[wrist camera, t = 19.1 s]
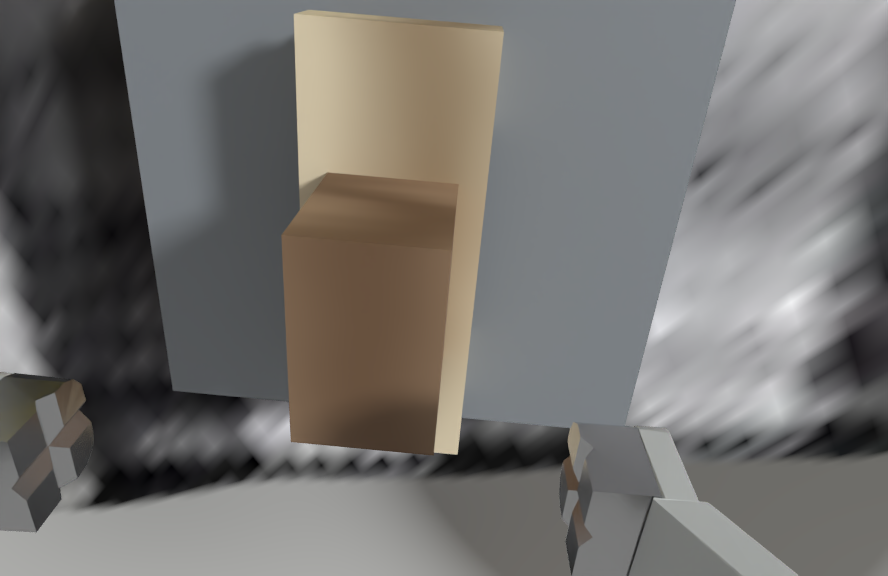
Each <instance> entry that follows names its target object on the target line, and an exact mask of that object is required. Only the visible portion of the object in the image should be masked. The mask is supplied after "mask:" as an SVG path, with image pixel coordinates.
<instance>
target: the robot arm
mask: <svg viewBox="0 0 888 576" xmlns="http://www.w3.org/2000/svg"><path fill="white" fill-rule="evenodd" d="M85 401H86V399H85V395H84V392H83V389H82V385H81V384H80V383H79V382H77V381H75V380H73V379H64V378H55V377H45V376H36V375H27V374H17V373H14V374H11V373H4V372H0V530H5V531H24V532H37V531H38V530H39V528H40V527H41V526H42V524H43V523H44V522H45V520H46V519H47V518H48V516H49V515H50V514H51V512H52V511H53V510H54V508H55V507H56V506H57V505H58V503H59V502H60V501H61V493H60V488H61V487H62V486H64V485H66V484H68V483H70V482H71V481H73V480H75V479H77V478H78V477H79V475H80V474H81V472H82V471H83V470H84V468H85V467H86V465H87V463H88V461H89V458H90V455H91V452H92V449H93V436H94V433H93V429H92V424H91V421H90V420H89V419H88V418H87V417H86V416H85V415H84V414H83V413H82V412H81V411H80V408H81V407H82V405H83V404H84V402H85ZM568 446H569V451H570V456H569V457H568V458H567V459H565V460H564V461H563V465H562V470H561V476H560V489H559V499H560V510H561V517H562V520H563V521H564V522H565V523H566V524H567V525H568V526H569V528H568V532H567V537H566V548H567V554H568V560H569V566H570V571H571V576H799V575H798V574H796V573H795V572H794V571H793V570H791V569H790V568H789V567H787V566H786V565H785V564H784V563H783V562H781V561H780V560H779V559H778V558H776V557H775V556H774V555H773V554H771V553H770V552H769V551H768V550H766V549H765V548H764V547H763V546H762V545H760V544H759V543H758V542H757V541H755V540H754V539H753V538H752V537H750V536H749V535H748V534H747V533H745V532H744V531H743V530H742V529H740V528H739V527H738V526H737V525H736V524H734V523H733V522H732V521H731V520H729V519H728V518H727V517H726V516H724V515H723V514H722V513H721V512H719V511H718V510H717V509H716V508H714V507H713V506H712V505H711V504H710V503H708V502H699V501H698V498H697V496H696V494H695V491H694V489H693V487H692V484H691V482H690V479H689V477H688V475H687V472H686V470H685V468H684V465H683V463H682V461H681V458H680V456H679V454H678V451H677V449H676V447H675V444H674V442H673V440H672V437H671V435H670V433H669V431H668V430H667V429H665V428H662V427H646V426H634V427H631V426H619V425H606V424H594V423H581V422H573V424H572V426H571V428H570V433H569V437H568Z"/></svg>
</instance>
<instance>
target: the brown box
mask: <svg viewBox="0 0 888 576" xmlns="http://www.w3.org/2000/svg"><path fill="white" fill-rule="evenodd" d="M458 186H459V184H452V183H441V182H430V181H419V180H407V179H396V178H385V177H374V176H363V175H352V174H340V173H329V172H328V173H327V174H326V175H325V177H324V178H323V179H322V181H321V182H320V183H319V185H318V186H317V188H316V189H315V190H314V192H313V193H312V194H311V196H310V197H309V198H308V200H307V201H306V202H305V204H304V205H303V206H302V208H301V209H300V211H299V212H298V213H297V215H296V216H295V217H294V219H293V220H292V221H291V223H290V224H289V225H288V227H287V228H286V230H285V231H284V232H283V234H282V235H281V238H282V260H283V281H284V303H285V325H286V346H287V368H288V389H289V411H290V432H291V442H298V443H308V444H319V445H329V446H340V447H350V448H361V449H371V450H382V451H392V452H403V453H413V454H424V455H434V446H435V436H436V425H437V415H438V405H439V395H440V385H441V375H442V365H443V354H444V343H445V332H446V321H447V310H448V298H449V287H450V276H451V265H452V253H453V242H454V231H455V220H456V209H457V197H458Z"/></svg>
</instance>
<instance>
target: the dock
mask: <svg viewBox="0 0 888 576" xmlns="http://www.w3.org/2000/svg"><path fill="white" fill-rule="evenodd" d="M114 2H115V9H116V15H117V22H118V29H119V35H120V42H121V49H122V55H123V62H124V69H125V75H126V82H127V89H128V95H129V102H130V109H131V115H132V122H133V128H134V135H135V142H136V148H137V155H138V162H139V168H140V175H141V182H142V188H143V195H144V202H145V208H146V215H147V222H148V228H149V235H150V241H151V248H152V255H153V261H154V268H155V275H156V281H157V288H158V295H159V301H160V308H161V315H162V321H163V328H164V335H165V341H166V348H167V355H168V361H169V368H170V374H171V381H172V388H173V391H182V392H192V393H203V394H214V395H224V396H235V397H245V398H256V399H267V400H277V401H288V402H289V389H288V368H287V346H286V325H285V303H284V281H283V260H282V238H281V235H282V234H283V232H284V231H285V230H286V228H287V227H288V225H289V224H290V223H291V221H292V220H293V219H294V217H295V216H296V215H297V213H298V212H299V211H300V197H299V165H298V134H297V102H296V71H295V39H294V14H295V13H299V12H303V11H306V10H318V11H330V12H342V13H353V14H365V15H377V16H388V17H400V18H412V19H423V20H435V21H447V22H459V23H470V24H482V25H494V26H502V27H503V30H504V37H503V46H502V55H501V64H500V73H499V82H498V91H497V100H496V109H495V118H494V127H493V136H492V146H491V155H490V164H489V173H488V182H487V191H486V200H485V209H484V218H483V227H482V236H481V245H480V254H479V263H478V272H477V281H476V291H475V300H474V309H473V318H472V327H471V336H470V345H469V354H468V363H467V372H466V381H465V390H464V399H463V408H462V417H461V418H469V419H480V420H490V421H501V422H512V423H522V424H533V425H544V426H554V427H565V428H571V426H572V424H573V422H581V423H594V424H606V425H619V426H625V423H626V419H627V415H628V411H629V407H630V404H631V400H632V396H633V392H634V388H635V384H636V381H637V377H638V373H639V369H640V365H641V362H642V358H643V354H644V350H645V346H646V342H647V339H648V335H649V331H650V327H651V323H652V319H653V316H654V312H655V308H656V304H657V300H658V297H659V293H660V289H661V285H662V281H663V277H664V274H665V270H666V266H667V262H668V258H669V255H670V251H671V247H672V243H673V239H674V235H675V232H676V228H677V224H678V220H679V216H680V212H681V209H682V205H683V201H684V197H685V193H686V190H687V186H688V182H689V178H690V174H691V170H692V167H693V163H694V159H695V155H696V151H697V147H698V144H699V140H700V136H701V132H702V128H703V125H704V121H705V117H706V113H707V109H708V105H709V102H710V98H711V94H712V90H713V86H714V83H715V79H716V75H717V71H718V67H719V63H720V60H721V56H722V52H723V48H724V44H725V40H726V37H727V33H728V29H729V25H730V21H731V18H732V14H733V10H734V6H735V2H736V0H114Z"/></svg>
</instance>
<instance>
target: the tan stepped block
mask: <svg viewBox="0 0 888 576" xmlns="http://www.w3.org/2000/svg"><path fill="white" fill-rule="evenodd" d="M503 37H504V30H503V27H502V26H494V25H482V24H470V23H459V22H447V21H435V20H423V19H412V18H400V17H388V16H377V15H365V14H353V13H342V12H330V11H318V10H306V11H303V12H299V13H295V14H294V39H295V71H296V102H297V134H298V165H299V197H300V209H301V208H302V206H303V205H304V204H305V202H306V201H307V200H308V198H309V197H310V196H311V194H312V193H313V192H314V190H315V189H316V188H317V186H318V185H319V183H320V182H321V181H322V179H323V178H324V177H325V175H326V174H327V173H328V172H329V173H340V174H352V175H363V176H374V177H385V178H396V179H407V180H419V181H430V182H441V183H452V184H459V186H458V197H457V209H456V220H455V231H454V242H453V253H452V265H451V276H450V287H449V298H448V310H447V321H446V332H445V343H444V354H443V365H442V375H441V385H440V395H439V405H438V415H437V425H436V436H435V446H434V452H435V453H446V454H456V455H457V454H458V445H459V436H460V427H461V417H462V408H463V399H464V390H465V381H466V372H467V363H468V354H469V345H470V336H471V327H472V318H473V309H474V300H475V291H476V281H477V272H478V263H479V254H480V245H481V236H482V227H483V218H484V209H485V200H486V191H487V182H488V173H489V164H490V155H491V146H492V136H493V127H494V118H495V109H496V100H497V91H498V82H499V73H500V64H501V55H502V46H503Z"/></svg>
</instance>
